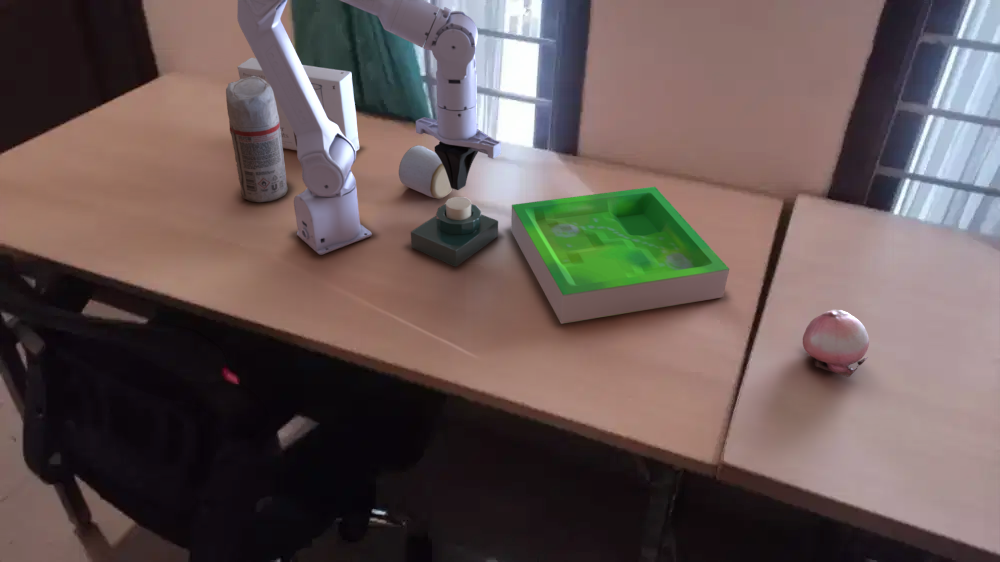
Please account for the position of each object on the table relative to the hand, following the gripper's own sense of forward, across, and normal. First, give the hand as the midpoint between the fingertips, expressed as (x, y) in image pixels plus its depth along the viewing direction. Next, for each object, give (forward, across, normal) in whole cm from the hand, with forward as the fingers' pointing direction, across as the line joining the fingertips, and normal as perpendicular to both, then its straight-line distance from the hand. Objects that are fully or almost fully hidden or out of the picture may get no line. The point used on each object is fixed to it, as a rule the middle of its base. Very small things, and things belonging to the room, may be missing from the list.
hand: (458, 186), depth 119 cm
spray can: (+10, +37, +8) cm, 39 cm away
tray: (+10, -23, -9) cm, 26 cm away
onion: (+10, -57, -6) cm, 58 cm away
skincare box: (+10, +45, -8) cm, 46 cm away
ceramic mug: (+10, +14, -10) cm, 20 cm away
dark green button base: (+10, 0, +1) cm, 10 cm away
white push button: (+5, 0, 0) cm, 5 cm away
